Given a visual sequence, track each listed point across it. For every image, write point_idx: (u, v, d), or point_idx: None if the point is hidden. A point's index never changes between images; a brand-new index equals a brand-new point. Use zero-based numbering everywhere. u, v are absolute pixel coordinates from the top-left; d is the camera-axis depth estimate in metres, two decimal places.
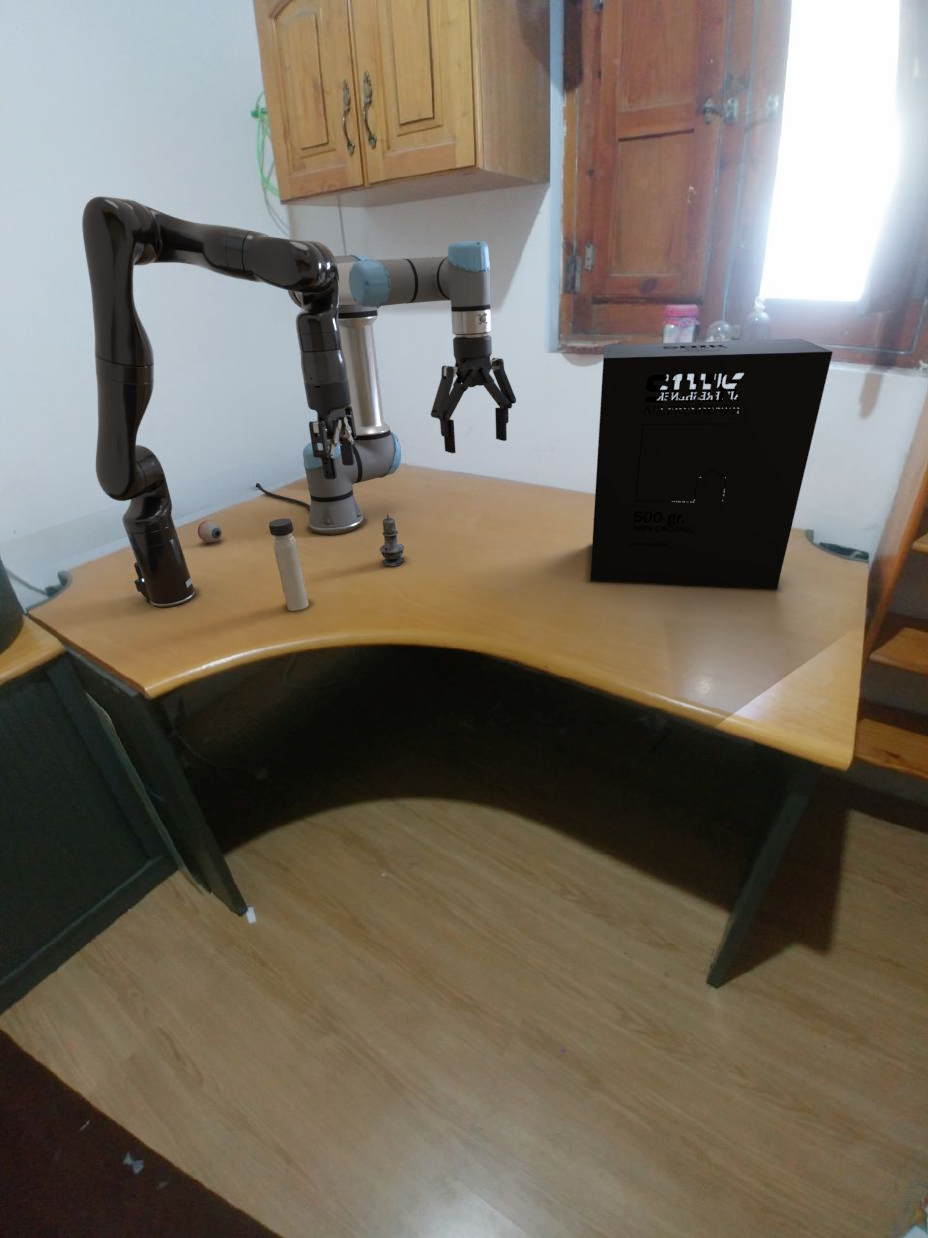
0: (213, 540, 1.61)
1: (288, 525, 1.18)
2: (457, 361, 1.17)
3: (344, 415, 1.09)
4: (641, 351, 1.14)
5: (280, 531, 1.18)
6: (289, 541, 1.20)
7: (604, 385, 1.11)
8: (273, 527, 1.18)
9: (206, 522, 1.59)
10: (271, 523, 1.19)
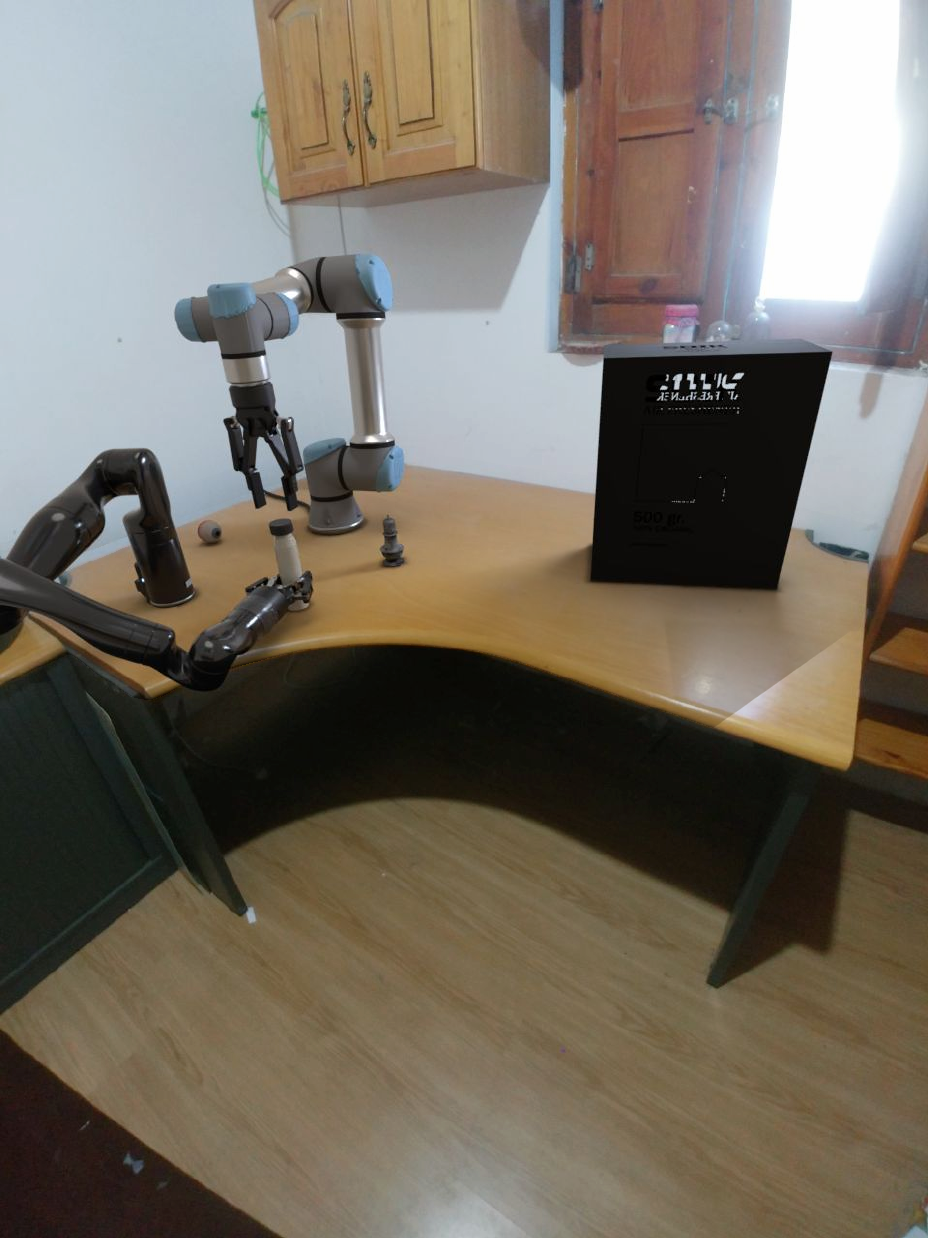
0: (213, 540, 1.61)
1: (288, 525, 1.18)
2: (273, 408, 1.07)
3: None
4: (641, 351, 1.14)
5: (280, 531, 1.18)
6: (289, 541, 1.20)
7: (604, 385, 1.11)
8: (273, 527, 1.18)
9: (206, 522, 1.59)
10: (271, 523, 1.19)
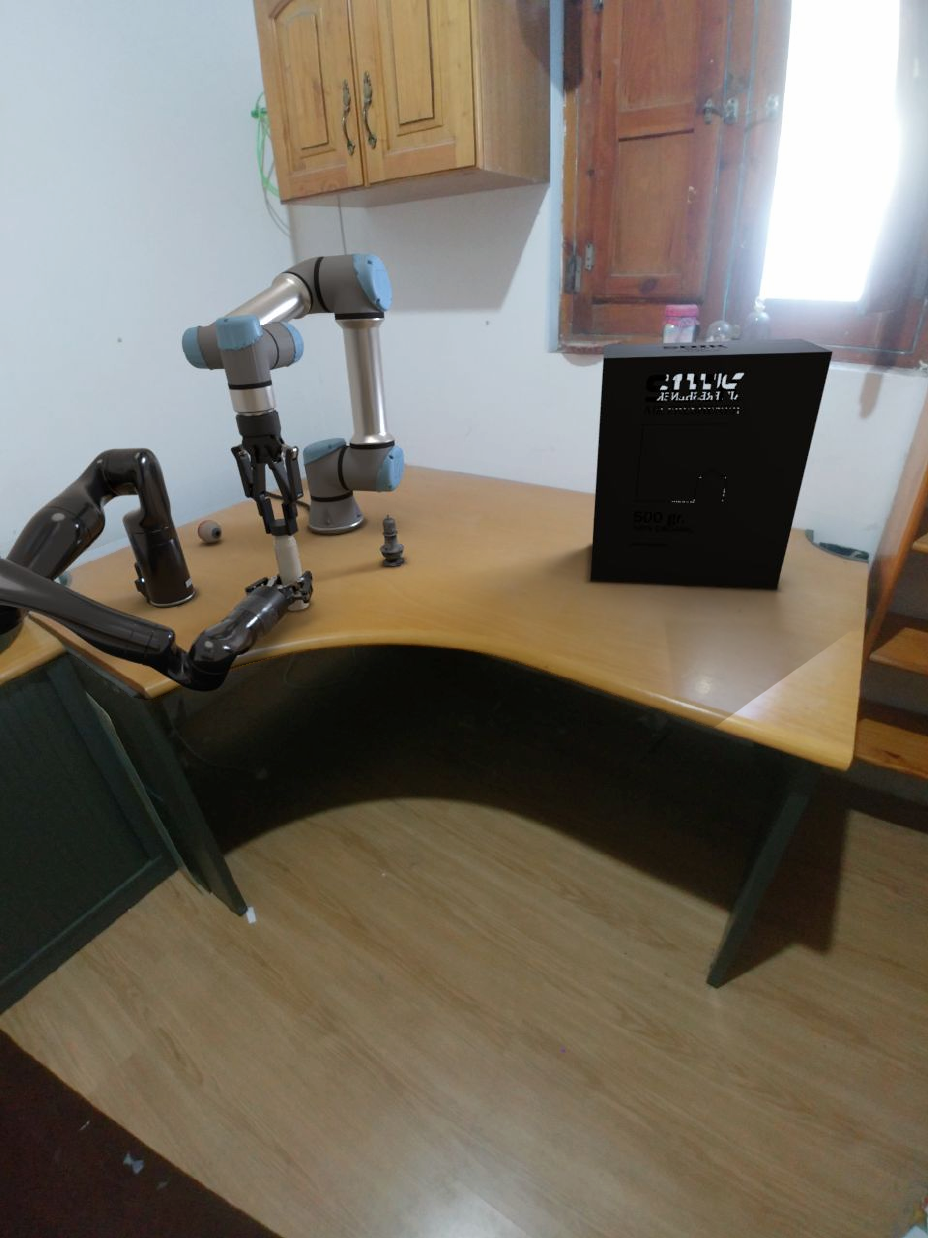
0: (213, 540, 1.61)
1: None
2: (278, 436, 1.10)
3: None
4: (641, 351, 1.14)
5: (280, 531, 1.18)
6: (289, 541, 1.20)
7: (604, 385, 1.11)
8: (273, 527, 1.18)
9: (206, 522, 1.59)
10: (271, 523, 1.19)
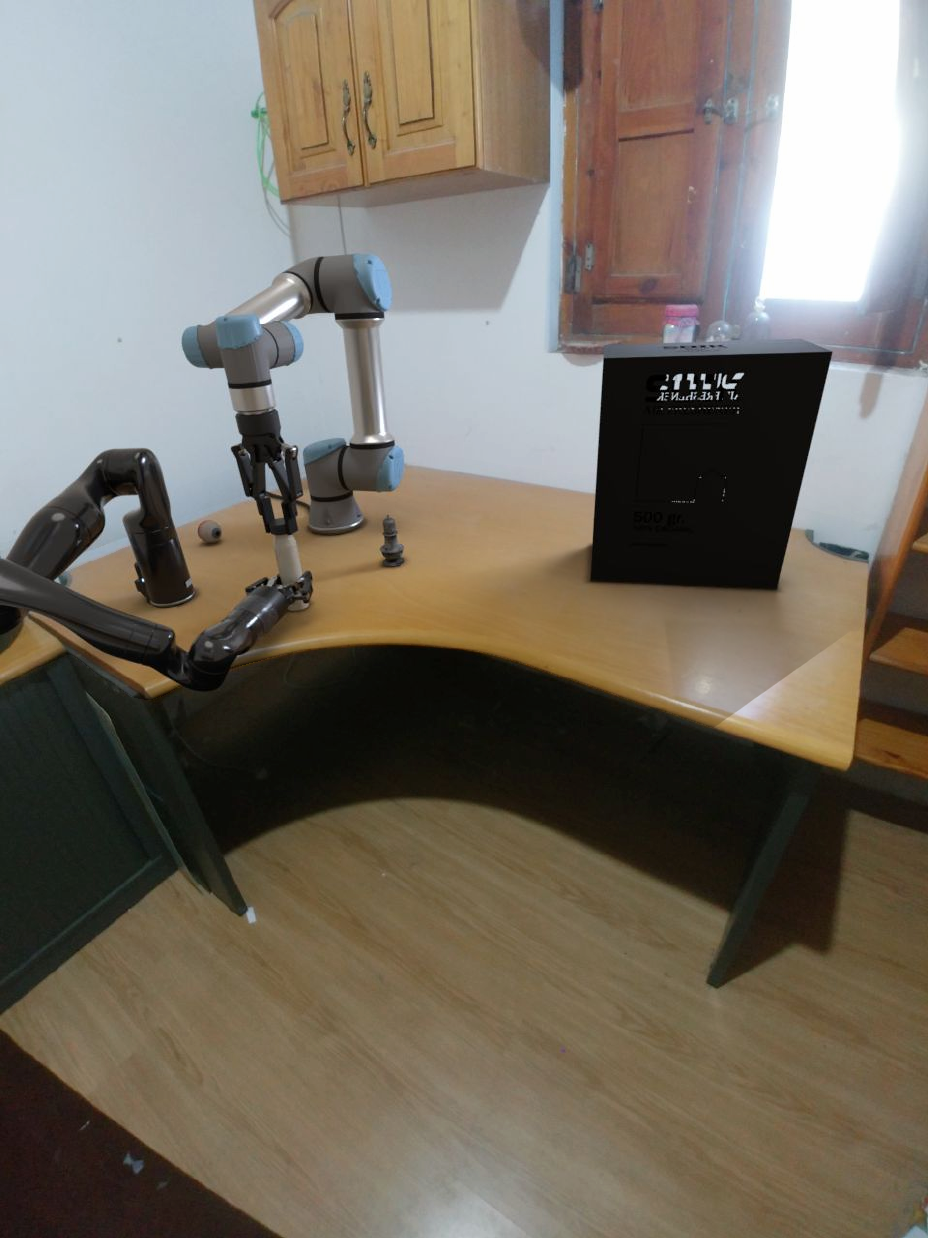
0: (213, 540, 1.61)
1: None
2: (278, 435, 1.10)
3: None
4: (641, 351, 1.14)
5: None
6: (289, 541, 1.20)
7: (604, 385, 1.11)
8: None
9: (206, 522, 1.59)
10: None
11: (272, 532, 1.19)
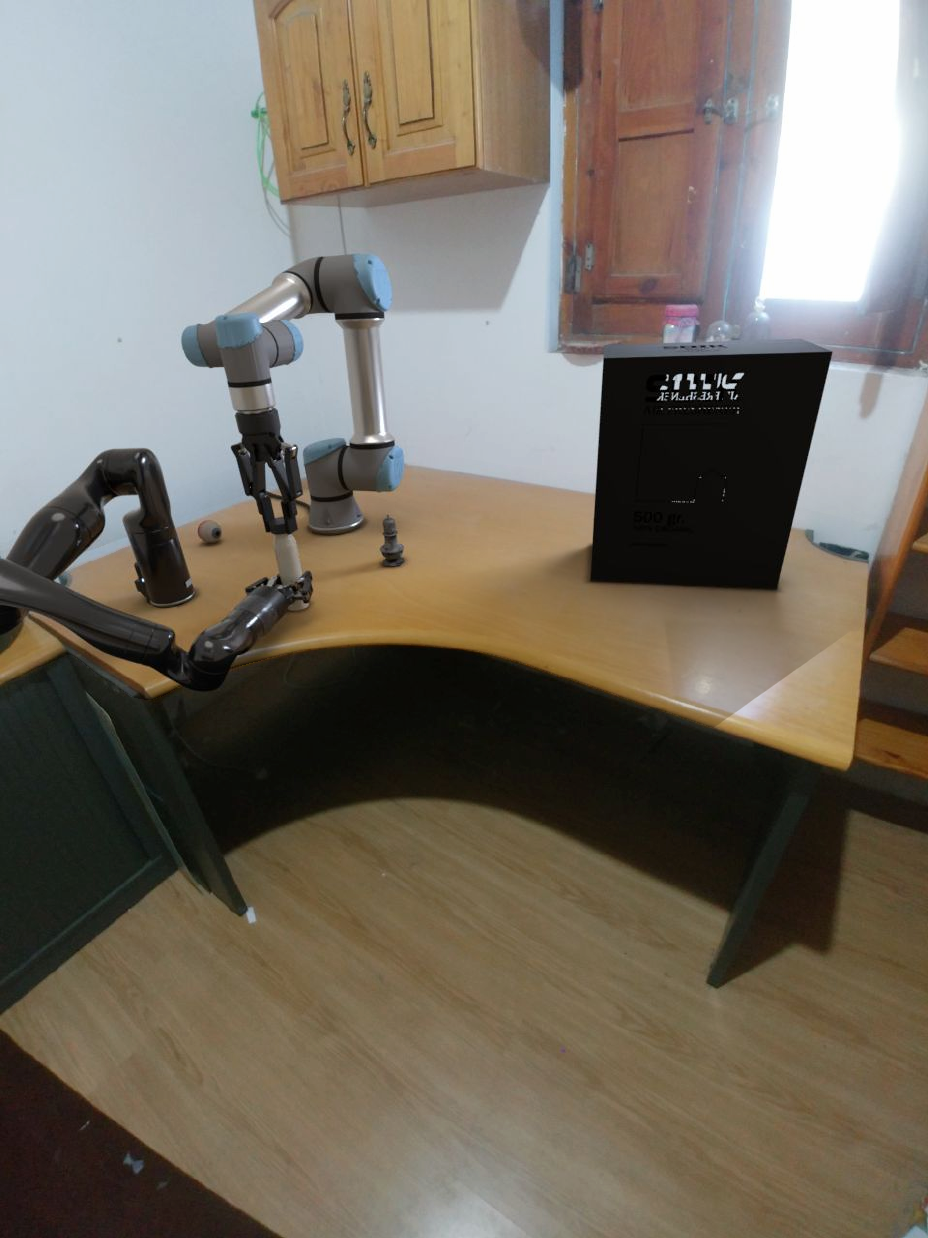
0: (213, 540, 1.61)
1: (272, 526, 1.18)
2: (278, 434, 1.09)
3: None
4: (641, 351, 1.14)
5: (270, 527, 1.19)
6: (289, 541, 1.20)
7: (604, 385, 1.11)
8: None
9: (206, 522, 1.59)
10: (279, 518, 1.21)
11: None
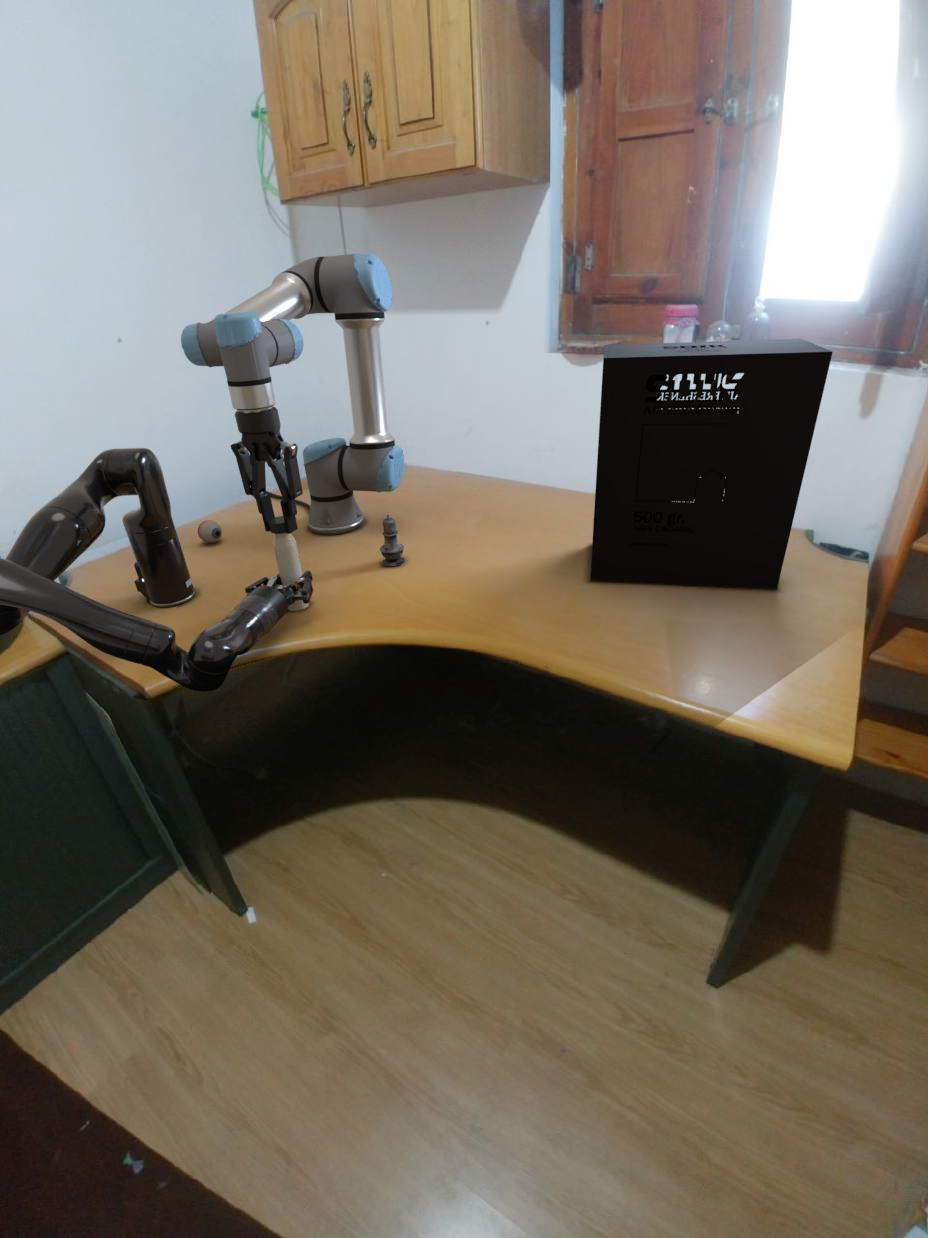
0: (213, 540, 1.61)
1: None
2: (277, 433, 1.09)
3: None
4: (641, 351, 1.14)
5: None
6: (289, 541, 1.20)
7: (604, 385, 1.11)
8: (282, 524, 1.18)
9: (206, 522, 1.59)
10: (274, 522, 1.18)
11: None
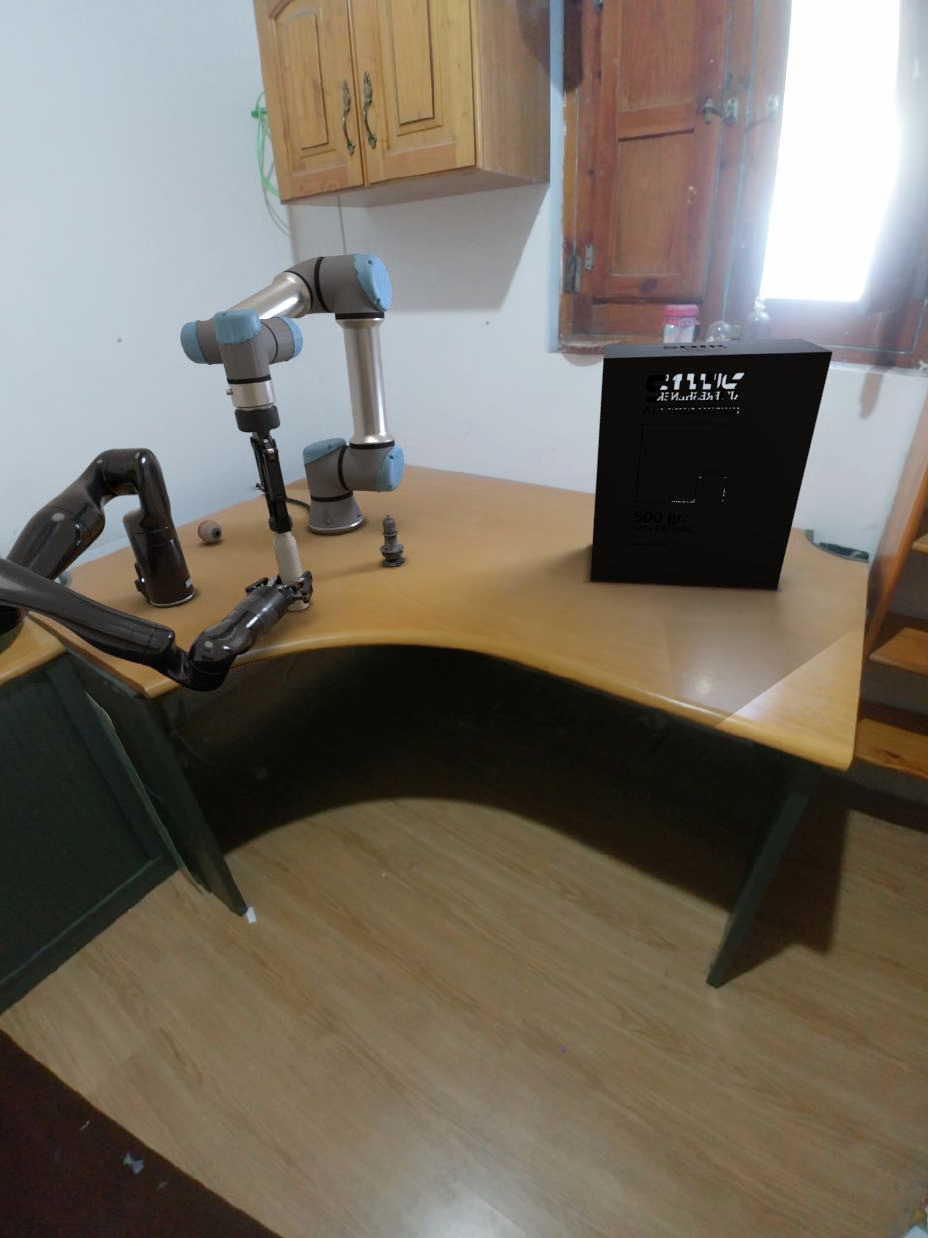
0: (213, 540, 1.61)
1: None
2: None
3: None
4: (641, 351, 1.14)
5: None
6: (289, 541, 1.20)
7: (604, 385, 1.11)
8: None
9: (206, 522, 1.59)
10: None
11: None
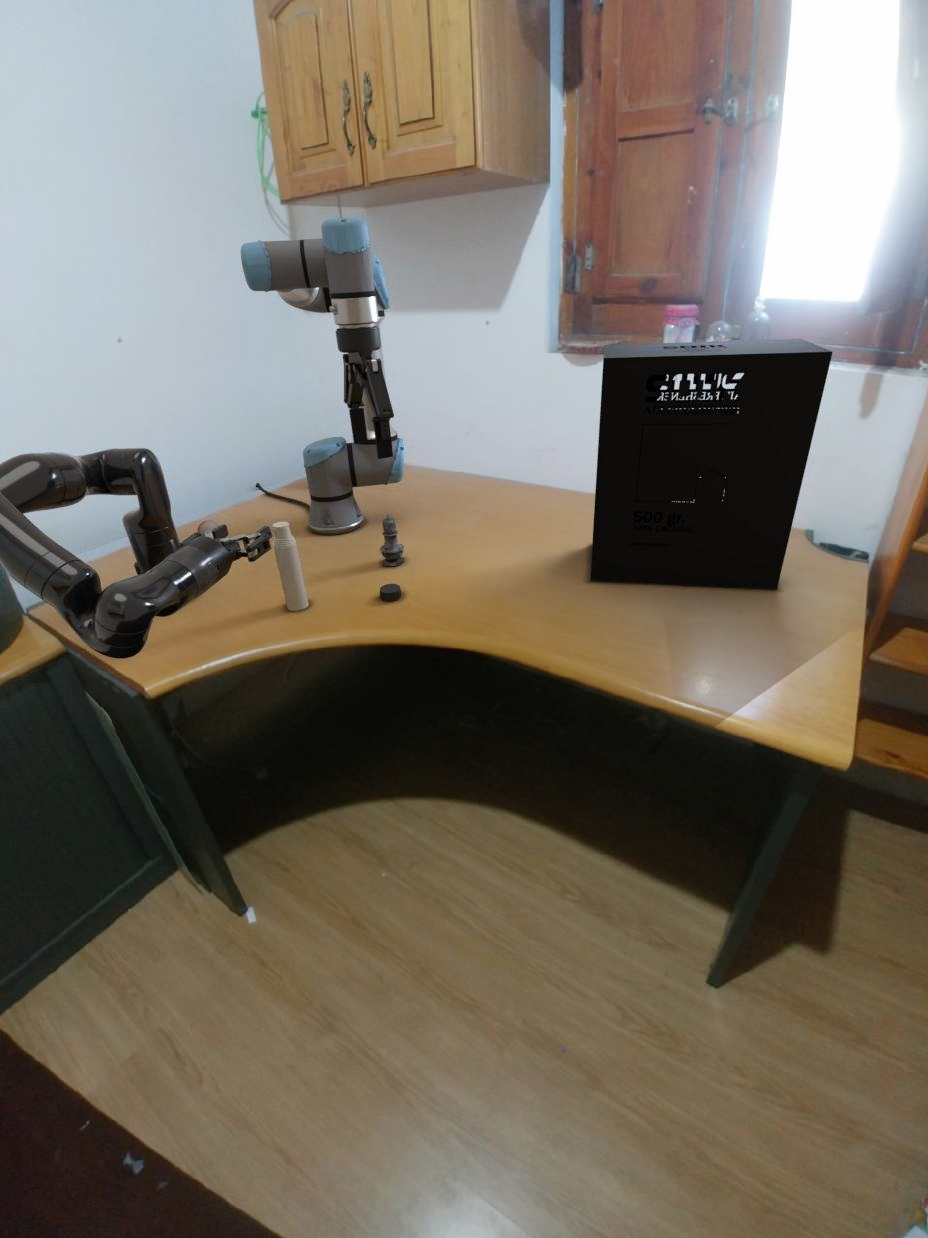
0: None
1: None
2: None
3: None
4: (641, 351, 1.14)
5: None
6: (289, 541, 1.20)
7: (604, 385, 1.11)
8: None
9: (206, 522, 1.59)
10: (397, 586, 1.30)
11: (392, 599, 1.28)
